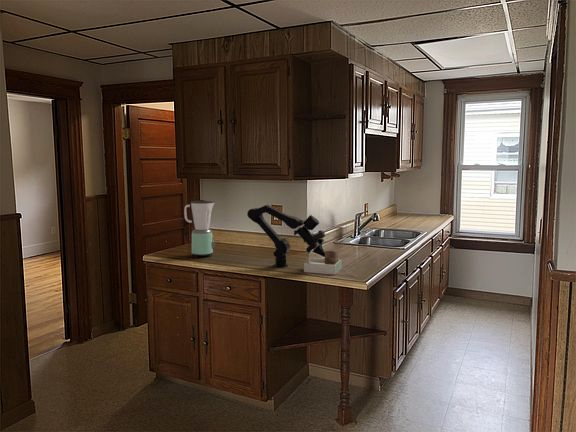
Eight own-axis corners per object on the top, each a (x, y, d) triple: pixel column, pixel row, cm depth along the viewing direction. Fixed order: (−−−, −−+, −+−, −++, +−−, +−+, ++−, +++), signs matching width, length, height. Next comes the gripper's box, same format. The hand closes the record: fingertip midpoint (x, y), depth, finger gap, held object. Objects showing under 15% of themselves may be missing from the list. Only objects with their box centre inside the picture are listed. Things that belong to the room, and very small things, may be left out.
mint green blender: (215, 253, 312) (214, 199, 308) (216, 257, 299) (215, 201, 295) (185, 254, 309) (184, 199, 305) (185, 258, 296) (183, 201, 292)
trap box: (304, 271, 262) (304, 262, 262) (311, 266, 276) (311, 257, 276) (335, 274, 257) (335, 265, 256) (341, 268, 271) (341, 259, 270)
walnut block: (324, 265, 265) (324, 250, 264) (327, 263, 271) (327, 248, 270) (335, 266, 263) (335, 251, 262) (337, 263, 269) (338, 249, 268)
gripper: (312, 228, 259) (332, 250, 256) (320, 223, 276) (339, 244, 274) (297, 242, 262) (317, 263, 260) (307, 236, 280) (325, 256, 277)
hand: (325, 256), depth 268 cm, fingers closed, pressing on walnut block
